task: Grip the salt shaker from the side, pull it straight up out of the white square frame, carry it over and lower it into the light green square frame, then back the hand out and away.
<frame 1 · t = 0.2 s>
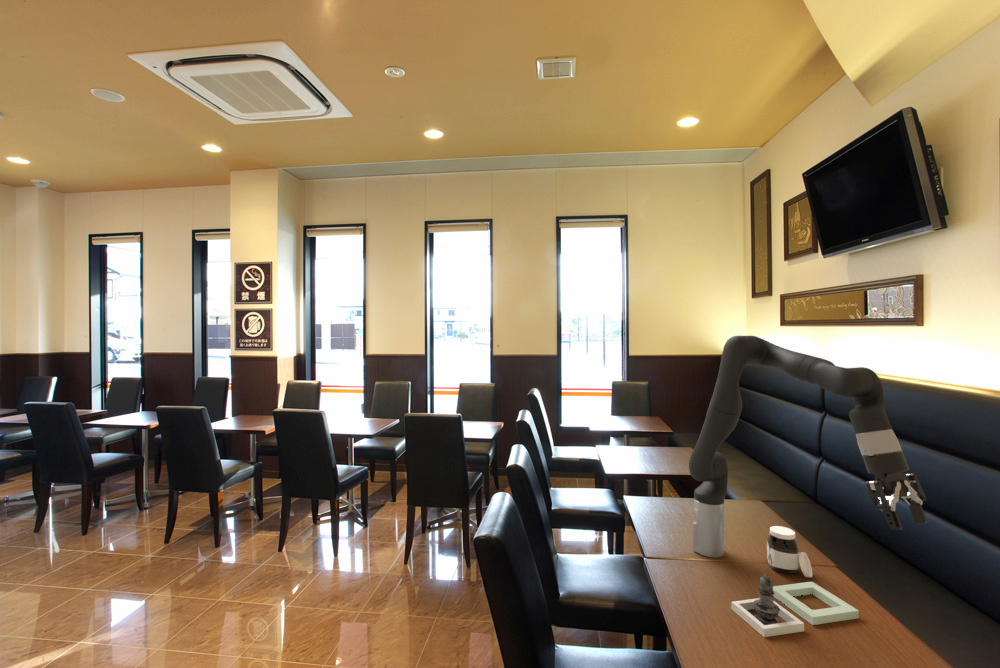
hand: (909, 526, 101), 31 cm above the table, tool tilted 20°, fingers open, 8 cm apart
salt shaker: (766, 620, 118), resting in white square frame
white square frame: (766, 619, 118), on the table
light green square frame: (812, 605, 124), on the table
spread jar: (789, 570, 142), on the table
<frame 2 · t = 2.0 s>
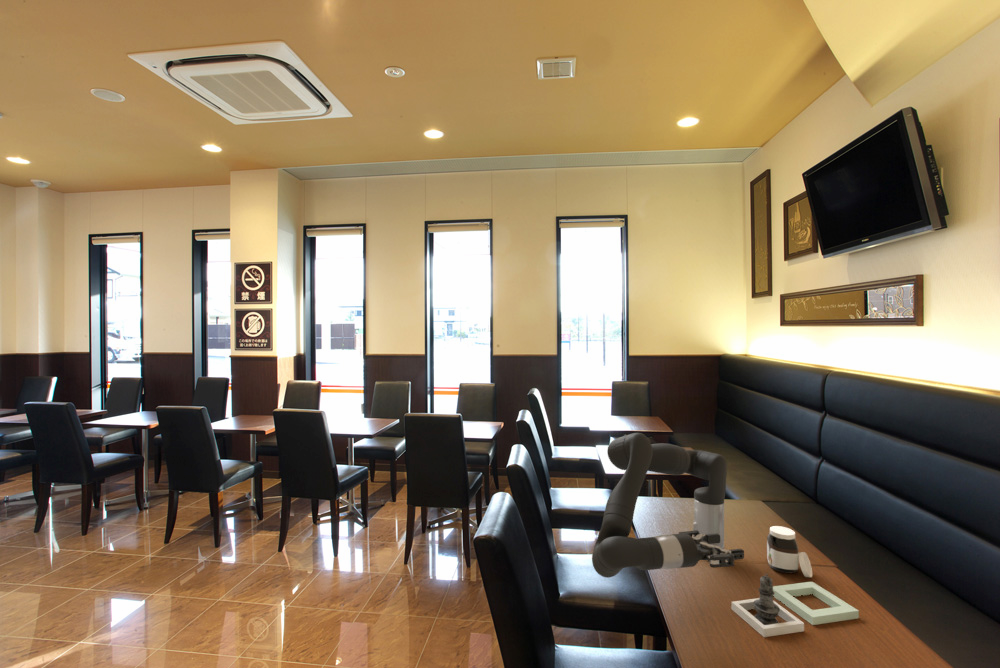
hand: (730, 545, 115), 20 cm above the table, tool horizontal, fingers open, 8 cm apart
nothing on the table moved.
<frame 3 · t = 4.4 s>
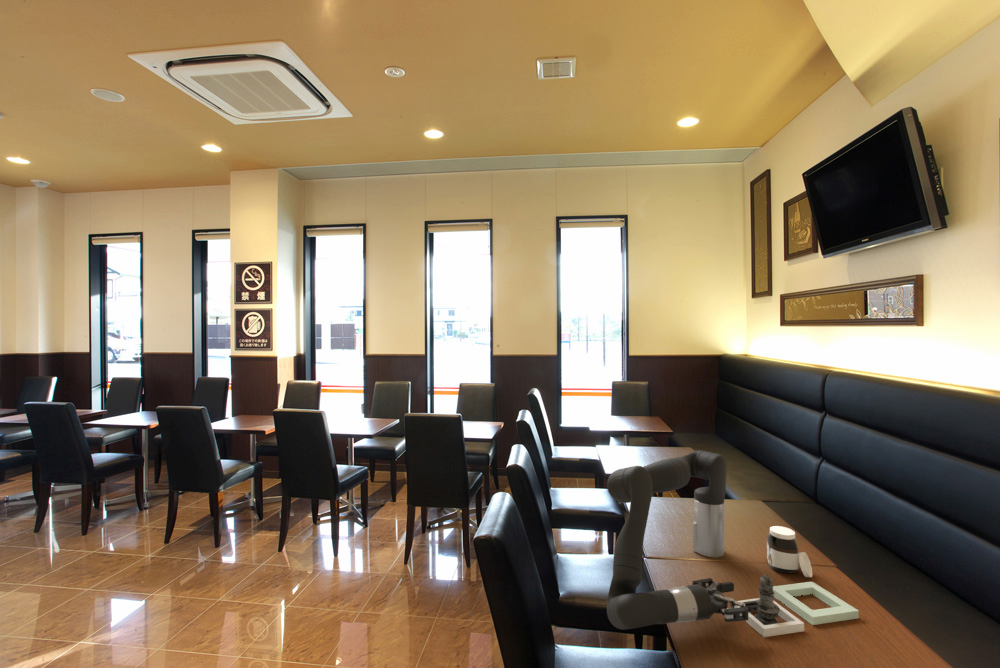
hand: (744, 595, 117), 7 cm above the table, tool horizontal, fingers open, 8 cm apart
nothing on the table moved.
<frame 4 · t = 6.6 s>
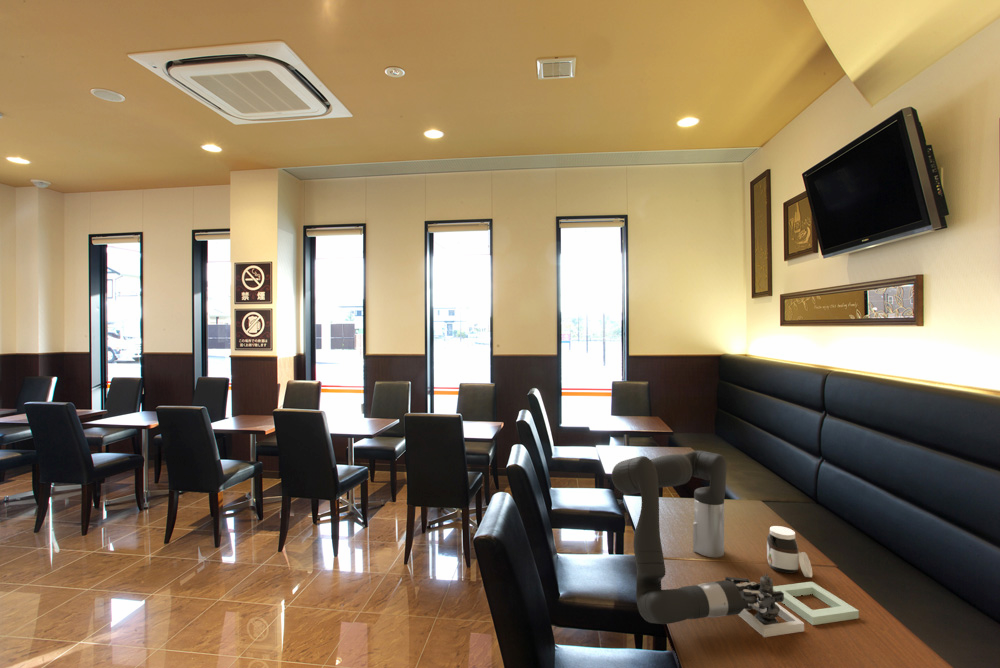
hand: (775, 591, 118), 7 cm above the table, tool horizontal, fingers closed on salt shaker, 3 cm apart
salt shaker: (766, 620, 118), resting in white square frame, touching gripper
everything else where it was.
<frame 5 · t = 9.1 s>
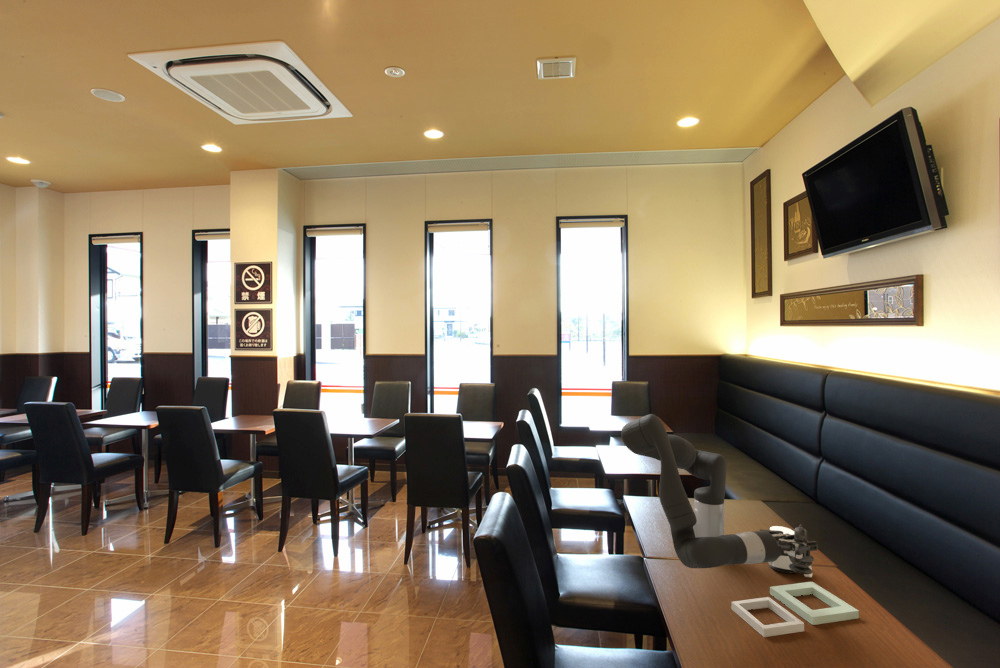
hand: (809, 541, 123), 18 cm above the table, tool horizontal, fingers closed on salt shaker, 3 cm apart
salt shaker: (800, 569, 122), point 10 cm above the table, touching gripper
everything else where it was.
when the fingers open (8 cm above the table, at t = 11.7 s): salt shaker stays where it is, resting in light green square frame.
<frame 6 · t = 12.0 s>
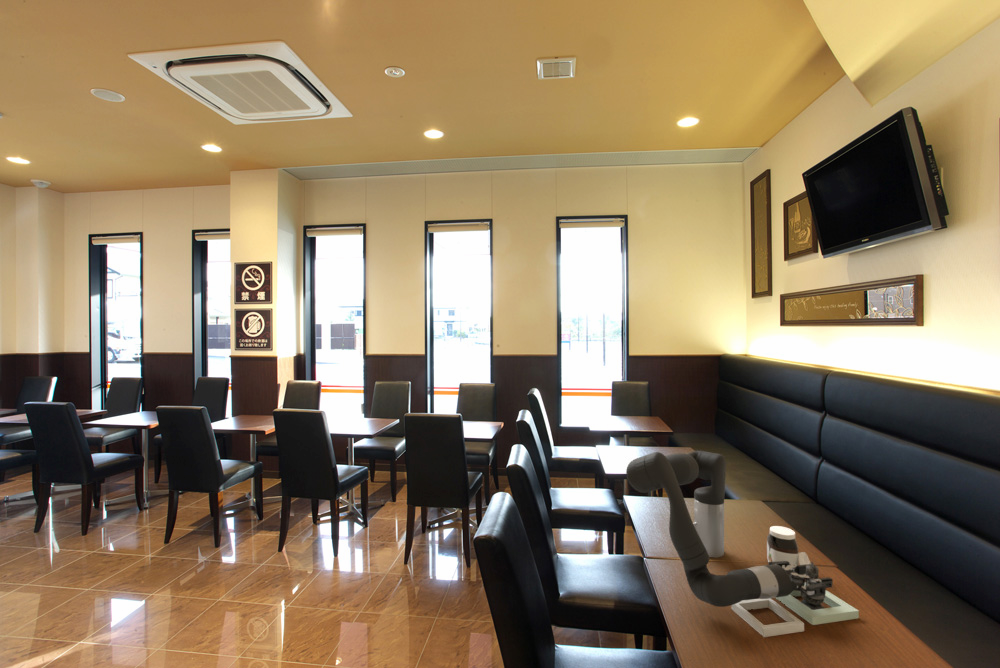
hand: (819, 575, 124), 8 cm above the table, tool horizontal, fingers open, 6 cm apart
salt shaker: (812, 606, 124), resting in light green square frame
everything else where it was.
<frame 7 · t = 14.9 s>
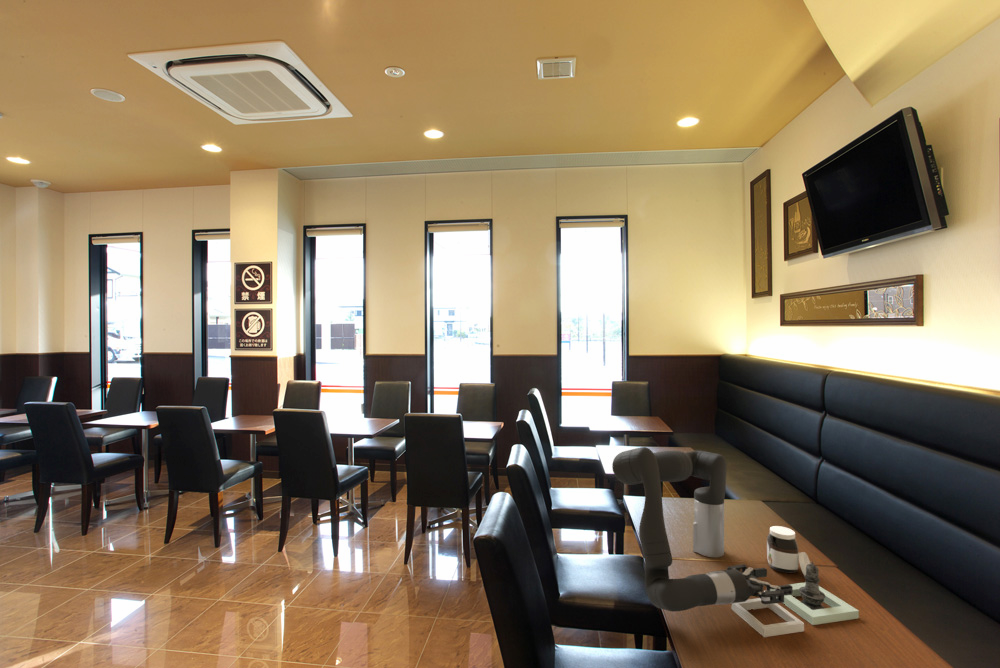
hand: (778, 580, 122), 8 cm above the table, tool horizontal, fingers open, 8 cm apart
nothing on the table moved.
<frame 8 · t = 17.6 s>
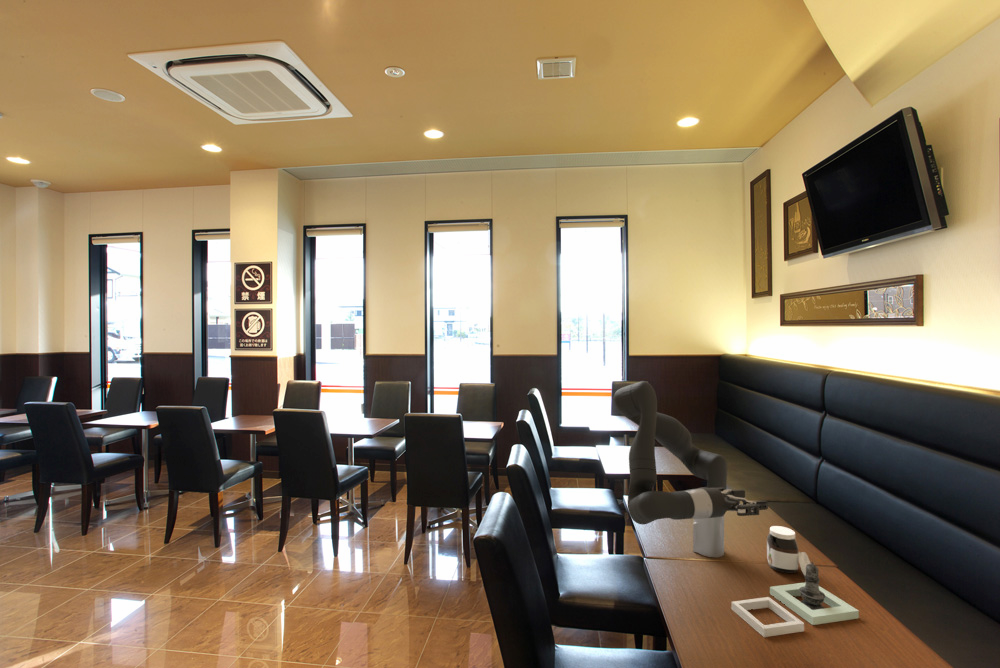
hand: (755, 498, 126), 28 cm above the table, tool horizontal, fingers open, 8 cm apart
nothing on the table moved.
at the end: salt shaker 0.1 cm off-centre on the light green square frame, point 0.0 cm above the light green square frame's base; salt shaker tilted 0°; the gripper is holding nothing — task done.
